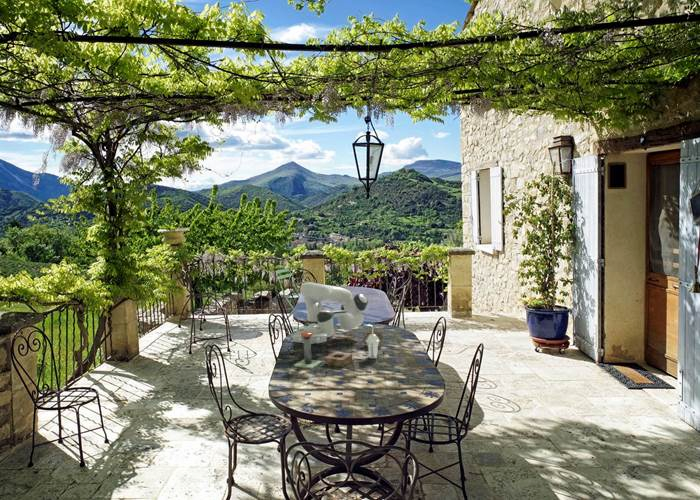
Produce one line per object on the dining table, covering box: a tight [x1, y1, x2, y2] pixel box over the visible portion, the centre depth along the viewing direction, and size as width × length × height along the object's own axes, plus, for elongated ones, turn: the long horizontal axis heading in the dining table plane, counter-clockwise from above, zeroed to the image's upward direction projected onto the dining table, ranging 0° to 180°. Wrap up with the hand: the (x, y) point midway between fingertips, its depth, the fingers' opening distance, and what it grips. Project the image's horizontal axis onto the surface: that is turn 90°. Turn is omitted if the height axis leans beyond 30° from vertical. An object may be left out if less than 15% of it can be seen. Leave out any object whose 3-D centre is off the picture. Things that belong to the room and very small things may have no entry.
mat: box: [293, 358, 323, 370], centre depth 302 cm, size 12×12×1 cm
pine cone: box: [349, 330, 385, 347], centre depth 336 cm, size 22×10×10 cm, turn 89°
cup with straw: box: [363, 323, 380, 359], centre depth 312 cm, size 8×9×20 cm
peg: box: [301, 332, 313, 364], centre depth 301 cm, size 6×6×17 cm
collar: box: [323, 351, 353, 367], centre depth 304 cm, size 12×12×4 cm
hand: (308, 341), depth 310 cm, fingers open, 8 cm apart
